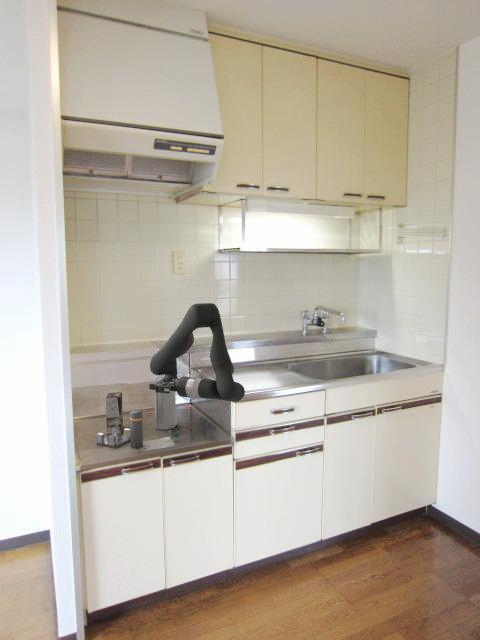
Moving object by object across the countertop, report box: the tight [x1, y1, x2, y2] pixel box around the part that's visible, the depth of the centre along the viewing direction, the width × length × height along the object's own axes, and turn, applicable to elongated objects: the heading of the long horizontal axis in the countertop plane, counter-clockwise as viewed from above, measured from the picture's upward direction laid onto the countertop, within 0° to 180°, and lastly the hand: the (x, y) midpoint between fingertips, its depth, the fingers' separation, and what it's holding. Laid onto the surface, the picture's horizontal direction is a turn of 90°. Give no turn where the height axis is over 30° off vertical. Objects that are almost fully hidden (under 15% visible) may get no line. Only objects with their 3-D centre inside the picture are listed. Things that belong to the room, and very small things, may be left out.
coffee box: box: [105, 391, 124, 435], centre depth 199 cm, size 9×6×16 cm
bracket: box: [95, 426, 131, 449], centre depth 186 cm, size 10×10×4 cm
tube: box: [129, 410, 144, 449], centre depth 181 cm, size 5×5×14 cm
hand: (156, 384), depth 175 cm, fingers open, 8 cm apart
